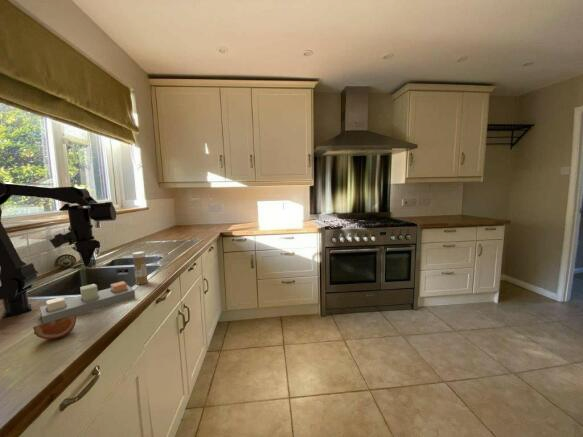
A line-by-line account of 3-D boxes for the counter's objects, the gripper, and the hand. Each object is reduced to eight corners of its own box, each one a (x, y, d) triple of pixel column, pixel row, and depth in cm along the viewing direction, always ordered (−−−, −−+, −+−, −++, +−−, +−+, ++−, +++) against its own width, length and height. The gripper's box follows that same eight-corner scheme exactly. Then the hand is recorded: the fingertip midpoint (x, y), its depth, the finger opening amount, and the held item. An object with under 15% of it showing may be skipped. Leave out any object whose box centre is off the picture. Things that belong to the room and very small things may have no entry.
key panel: (41, 315, 80) (39, 306, 80) (126, 291, 98) (126, 283, 98) (43, 326, 74) (42, 316, 73) (135, 297, 91) (134, 290, 91)
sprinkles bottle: (133, 284, 105) (129, 253, 103) (142, 280, 109) (139, 250, 108) (141, 285, 104) (138, 254, 102) (150, 281, 108) (147, 251, 106)
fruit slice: (35, 349, 62) (32, 330, 62) (35, 338, 67) (32, 321, 66) (79, 334, 68) (76, 317, 68) (76, 326, 73) (73, 309, 72)
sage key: (81, 300, 85) (79, 287, 85) (96, 296, 88) (94, 283, 88) (84, 303, 83) (82, 290, 82) (98, 299, 86) (97, 286, 85)
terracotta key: (112, 296, 92) (110, 284, 91) (124, 293, 95) (123, 281, 94) (115, 299, 89) (113, 286, 89) (127, 295, 92) (126, 283, 92)
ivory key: (48, 315, 79) (46, 300, 79) (65, 310, 82) (62, 296, 82) (49, 319, 77) (47, 304, 76) (66, 314, 80) (64, 299, 79)
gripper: (46, 223, 87) (52, 266, 89) (51, 227, 75) (59, 277, 77) (86, 220, 96) (91, 259, 97) (97, 223, 83) (103, 268, 85)
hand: (86, 265), depth 89 cm, fingers closed
